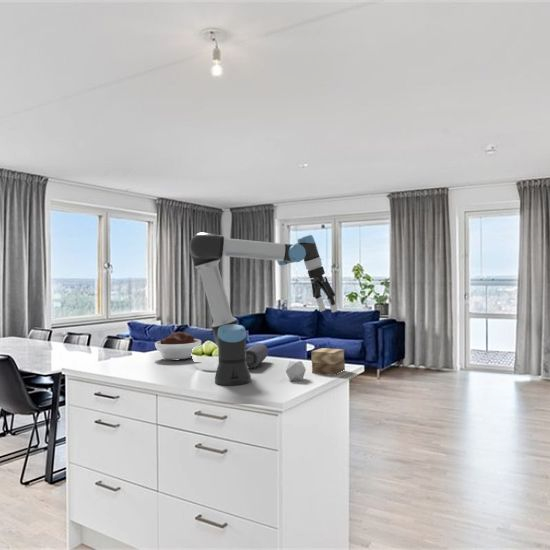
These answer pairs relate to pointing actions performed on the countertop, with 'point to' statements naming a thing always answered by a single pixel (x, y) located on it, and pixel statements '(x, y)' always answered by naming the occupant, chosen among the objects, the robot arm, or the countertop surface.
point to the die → (295, 370)
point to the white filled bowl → (177, 346)
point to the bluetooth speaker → (256, 355)
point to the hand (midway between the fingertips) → (328, 311)
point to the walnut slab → (328, 368)
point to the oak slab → (327, 356)
